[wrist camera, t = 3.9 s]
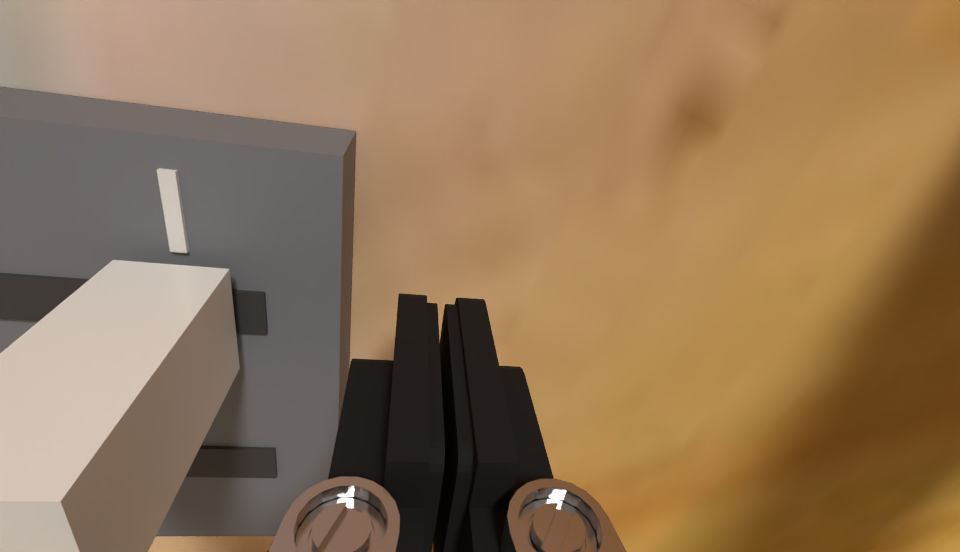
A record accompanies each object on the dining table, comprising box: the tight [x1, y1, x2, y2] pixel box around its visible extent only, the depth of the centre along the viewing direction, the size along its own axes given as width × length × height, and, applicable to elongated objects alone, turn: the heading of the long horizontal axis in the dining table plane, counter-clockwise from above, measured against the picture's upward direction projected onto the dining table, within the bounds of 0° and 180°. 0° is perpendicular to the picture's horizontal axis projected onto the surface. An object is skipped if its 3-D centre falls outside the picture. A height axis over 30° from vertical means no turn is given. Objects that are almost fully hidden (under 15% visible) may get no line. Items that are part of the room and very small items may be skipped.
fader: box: [0, 260, 240, 552], centre depth 8 cm, size 2×2×5 cm
